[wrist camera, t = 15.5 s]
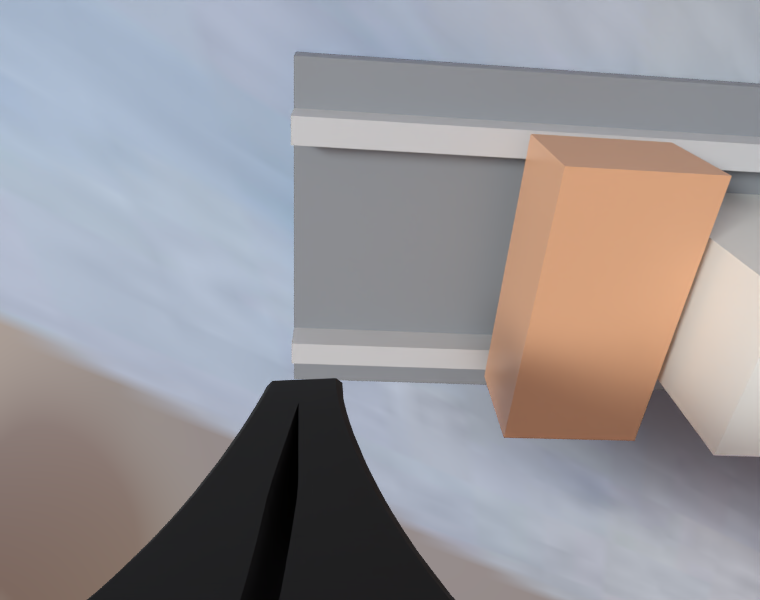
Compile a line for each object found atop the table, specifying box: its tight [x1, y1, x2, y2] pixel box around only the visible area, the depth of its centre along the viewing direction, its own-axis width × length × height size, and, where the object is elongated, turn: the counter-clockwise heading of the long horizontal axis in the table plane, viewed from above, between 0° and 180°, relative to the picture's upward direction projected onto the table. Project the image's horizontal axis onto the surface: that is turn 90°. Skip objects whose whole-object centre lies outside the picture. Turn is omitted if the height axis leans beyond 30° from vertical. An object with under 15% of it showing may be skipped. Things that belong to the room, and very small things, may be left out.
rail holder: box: [291, 52, 760, 390], centre depth 18 cm, size 20×11×6 cm, turn 86°
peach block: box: [484, 134, 732, 441], centre depth 17 cm, size 4×8×3 cm, turn 176°
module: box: [657, 193, 760, 457], centre depth 17 cm, size 4×4×7 cm
